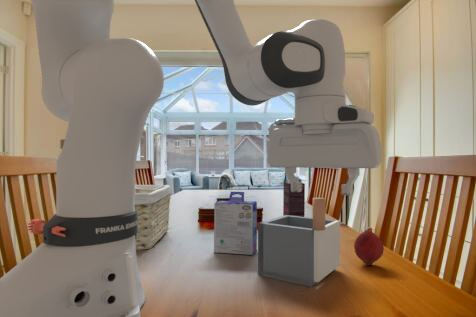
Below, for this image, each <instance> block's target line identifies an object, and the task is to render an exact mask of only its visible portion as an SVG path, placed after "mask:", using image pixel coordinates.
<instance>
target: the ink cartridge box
mask: <svg viewBox="0 0 476 317" xmlns="http://www.w3.org/2000/svg"><path fill="white" fill-rule="evenodd" d="M235 195H239V196H241V197H239V196H235ZM234 196H235V197H234ZM213 208H214V209H213V210H214V211H213V213H214V214H213V216H214V217H213V219H214V221H213V223H214V225H213V226H214V227H213V231H214V232H213V233H214V234H213V253H216V254H217V253H219V254H220V253H221V254H236V255H248V256H252V255H254V254H255V252H257V251H258V203H257V201H255V200H254V201H251V200H248V201H247V200H245V191H230V194H229V198H228V200H218V201H217V202H215V203H214V207H213Z"/></svg>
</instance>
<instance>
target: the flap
mask: <svg viewBox="0 0 476 317" xmlns="http://www.w3.org/2000/svg"><path fill="white" fill-rule="evenodd" d="M312 218H313V230H314V282H317V283H320V282H321V281H322V280H323V279H324V278H326V277H327V276H328V275H329V274H331V273H332V272H333V271H334V270H336V269H337V268H338V267H340V264H341V254H340V253H341V221H340V220H334V222H331V223H329V224H327V225H325V219H326V198H325V197H312Z"/></svg>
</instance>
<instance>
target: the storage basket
mask: <svg viewBox="0 0 476 317" xmlns="http://www.w3.org/2000/svg"><path fill="white" fill-rule="evenodd" d="M171 193H172V188H171V186H170V185H169V184H135V210H136V211H137V217H138V232H137V236H136V240H135V243H136V251H142V250H149V249H152V247H153V246H154V245H156V243H157V242H159V240H160V239H161V238H162V237H163V236H165V234H166V233H168V231H169V221H170V212H171V211H170V203H171V201H170V200H171V198H172V197H171V196H172V195H171Z"/></svg>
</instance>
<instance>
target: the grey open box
mask: <svg viewBox="0 0 476 317" xmlns="http://www.w3.org/2000/svg"><path fill="white" fill-rule="evenodd" d="M334 221H335V220H334V219H328V218H327V219H326V218H325V225H327V224H329V223H331V222H334ZM257 275H258V276H263V277H268V278H272V279H275V280H280V281H285V282H289V283H293V284H297V285H302V286H306V287H309V288H312V287H313V286H315V285H316V284H317V283H318V282H314V230H313V217H308V216H307V217H306V216H304V217H300V216H290V215H284V216H283V215H281V216H278V217H274V218H272V219H267V220H264V221H262V222H257Z"/></svg>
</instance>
